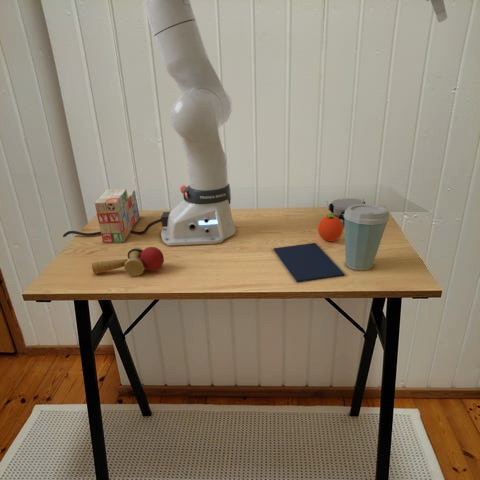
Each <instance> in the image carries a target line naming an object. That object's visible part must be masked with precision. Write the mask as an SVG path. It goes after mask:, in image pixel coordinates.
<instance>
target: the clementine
mask: <svg viewBox="0 0 480 480" xmlns="http://www.w3.org/2000/svg"><path fill="white" fill-rule="evenodd" d="M343 231H344V224H343V223H342V222H341V220H340V219H339V218H338V216H336V215H334V214H327V215H326V216H325V217H323V218H322V219H321V220H320V221H319V223H318V226H317V232H318V235H319V236H320V238H321V239H322V240H324V241H326V242H334V241H336V240H338V239H339V238H340V237H341V236H342V234H343Z"/></svg>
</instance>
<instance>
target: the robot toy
mask: <svg viewBox="0 0 480 480" xmlns="http://www.w3.org/2000/svg"><path fill="white" fill-rule="evenodd" d="M325 202H326V204H327V210H329V212H330V213H331V214H332V215H333V216H336V217H337V218H339V219H340V220H341V222H342V224H344V223H345V222H344V217H343V216H344V213H345V210H346V209H347V208H348V207H349V206H352V205H358V204H367V203H366V201H365V198H362V199H359V198H350V197H349V198H347V197H346V198H345V197H344V198H337V199H334V200H333V201H331V203H329V202H328V200H326V201H325Z"/></svg>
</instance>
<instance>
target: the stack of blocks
mask: <svg viewBox="0 0 480 480" xmlns="http://www.w3.org/2000/svg"><path fill="white" fill-rule="evenodd" d="M94 206H95V211H96V216H97V221H98V224H99V229H100V231H101V234H100V235H101V239H102V243H103V244H112V243H115V244H117V243H120V244H121V243H124V242H125V241H126V239H127V238H128V237H129V236H130V234H131V233H130V230H132V231H133V229H134V226H135V225H136V224H137V222H138V220H139V218H140V211H139V205H138V199H137V195H136V190H135V189H127V188H115V189H106V190H105V191H104V192H103V193H102V194H101V195H100V197H98V198H97V200H96V201H95V202H94Z"/></svg>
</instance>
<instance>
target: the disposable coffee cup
mask: <svg viewBox="0 0 480 480" xmlns="http://www.w3.org/2000/svg"><path fill="white" fill-rule="evenodd" d="M388 209H389V208H386V207H385V206H384V207H383V206H381V205H376V204H369V203H368V204H367V203H366V204H358V205H352V206H349V207H348V208H347V209H346V210H345V213H344V216H343V217H344V222H343V223H344V248H345V249H344V251H345V263H346V266H347V267H348V268H350V269H352V270H354V271H355V270H356V271H368V270H369V269H371V268H372V266H373V265H374V263H375V260H376V257H377V254H378V251H379V248H380V245H381V242H382V238H383V235H384V232H385V230H386V226H387V222H389V221H390V212H389V211H388Z"/></svg>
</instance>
